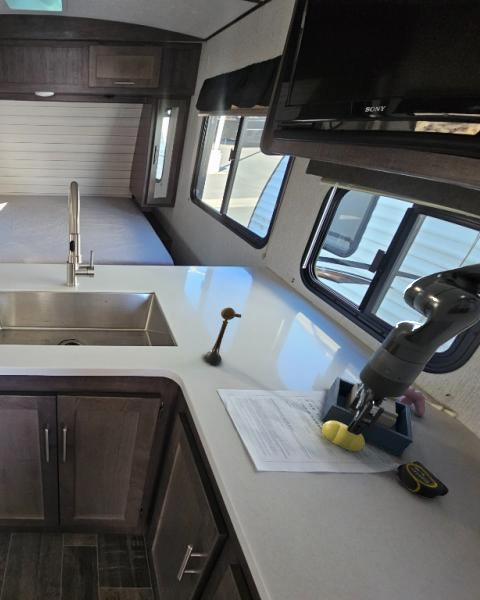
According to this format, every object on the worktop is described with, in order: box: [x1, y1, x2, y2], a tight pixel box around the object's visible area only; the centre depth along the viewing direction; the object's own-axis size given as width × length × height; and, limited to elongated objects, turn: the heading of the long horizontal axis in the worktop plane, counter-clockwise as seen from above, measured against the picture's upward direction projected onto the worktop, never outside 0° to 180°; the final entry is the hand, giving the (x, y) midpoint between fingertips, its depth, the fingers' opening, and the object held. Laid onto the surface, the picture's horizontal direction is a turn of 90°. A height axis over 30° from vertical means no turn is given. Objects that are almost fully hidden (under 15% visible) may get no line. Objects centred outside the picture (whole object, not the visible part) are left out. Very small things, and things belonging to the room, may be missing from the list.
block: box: [344, 381, 398, 429], centre depth 83 cm, size 8×10×9 cm
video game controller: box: [396, 386, 426, 417], centre depth 89 cm, size 10×5×7 cm, turn 65°
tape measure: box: [396, 460, 449, 499], centre depth 69 cm, size 7×7×4 cm
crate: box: [322, 376, 414, 457], centre depth 83 cm, size 16×14×6 cm
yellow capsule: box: [321, 421, 366, 452], centre depth 78 cm, size 8×5×5 cm, turn 51°
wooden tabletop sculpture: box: [204, 306, 242, 366], centre depth 98 cm, size 6×5×20 cm
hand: (353, 420), depth 75 cm, fingers open, 8 cm apart
